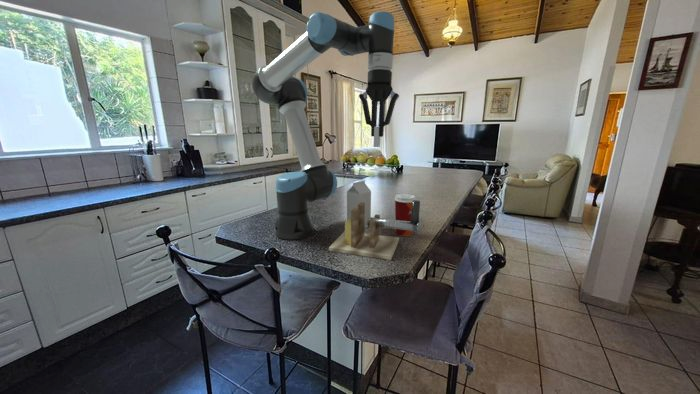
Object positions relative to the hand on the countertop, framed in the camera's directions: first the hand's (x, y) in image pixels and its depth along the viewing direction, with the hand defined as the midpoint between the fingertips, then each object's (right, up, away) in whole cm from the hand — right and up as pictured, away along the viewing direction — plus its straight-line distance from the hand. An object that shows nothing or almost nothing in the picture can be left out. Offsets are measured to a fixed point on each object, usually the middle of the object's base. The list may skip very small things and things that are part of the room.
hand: (376, 146), depth 92 cm
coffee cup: (+12, -31, +16) cm, 37 cm away
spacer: (-8, -28, +5) cm, 30 cm away
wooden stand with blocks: (-4, -34, +4) cm, 34 cm away
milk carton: (-5, -29, +23) cm, 38 cm away
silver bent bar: (+6, -28, 0) cm, 29 cm away
